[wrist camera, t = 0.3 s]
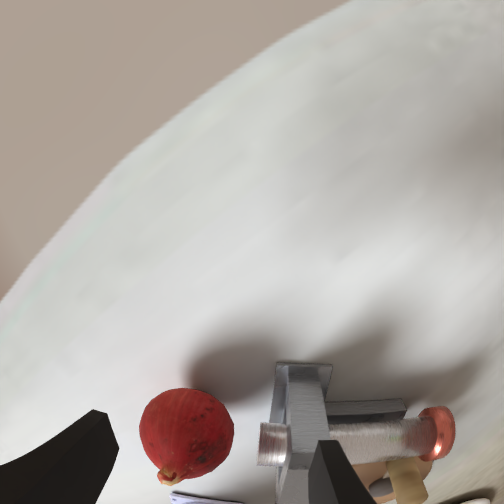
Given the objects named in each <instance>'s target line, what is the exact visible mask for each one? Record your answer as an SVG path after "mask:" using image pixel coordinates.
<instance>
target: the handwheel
mask: <svg viewBox="0 0 504 504" xmlns="http://www.w3.org/2000/svg"><path fill="white" fill-rule="evenodd" d="M352 467H353V469H354V470H355V472H356V474H357V475H358V477H359V478H360V480H361V481H362V483H363V484H364V486H365V487H366V489H367V490H368V492H369V493H370V495H371V496H372V497H373V499H374V500H375V501H376V503H377V504H382V503H385V502H388V501H391V500H393V499H395V498H396V501H397V504H422V503H423V502H424V501H426V500H427V498H428V493H427V491H426V488H425V485H424V483H423V480H424V479H425V478H426V476H427V475H428V474H429V472H430V470H431V468H432V461H428V462H425V461H422V460H421V459H420V458H419V457H418V456H415V457H409V458H403V459H397V460H390V461H383V462H375V463H366V464H355V465H352Z"/></svg>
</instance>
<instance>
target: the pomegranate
mask: <svg viewBox="0 0 504 504" xmlns="http://www.w3.org/2000/svg"><path fill="white" fill-rule="evenodd" d="M139 432H140V438H141V441H142V444H143V448H144V450H145V452H146V454H147V456H148V457H149V459H150V460H151V461H152V462H153V463H154V465H155V466H156V467H157V468H159V469H160V471H159V472H158V474H157V477H158V479H159V481H160V482H161V484H166V485H168V486H172V485H174V484H177V483H179V482H181V481H182V480H184V479H191V478H196V477H200V476H202V475H204V474H207V473H209V472H212V471H213V470H214V469H215V468H216V467H218V466H219V465H220V464H221V463H222V462H223V461H224V460H225V459H226V458H227V456H228V455H229V453H230V450H231V447H232V442H233V437H234V423H233V421H232V419H231V417H230V415H229V413H228V411H227V409H226V408H225V406H224V404H223V403H221V402H220V401H219V400H217V399H216V398H215V397H213V396H212V395H210V394H208V393H205V392H202V391H199V390H196V389H187V388H178V389H171V390H168V391H165V392H163V393H161V394H160V395H158V396H157V397H155V398H154V399H152V400H151V401H150V402H149V404H148V405H147V406H146V407H145V410H144V412H143V415H142V417H141V421H140V425H139Z"/></svg>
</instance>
